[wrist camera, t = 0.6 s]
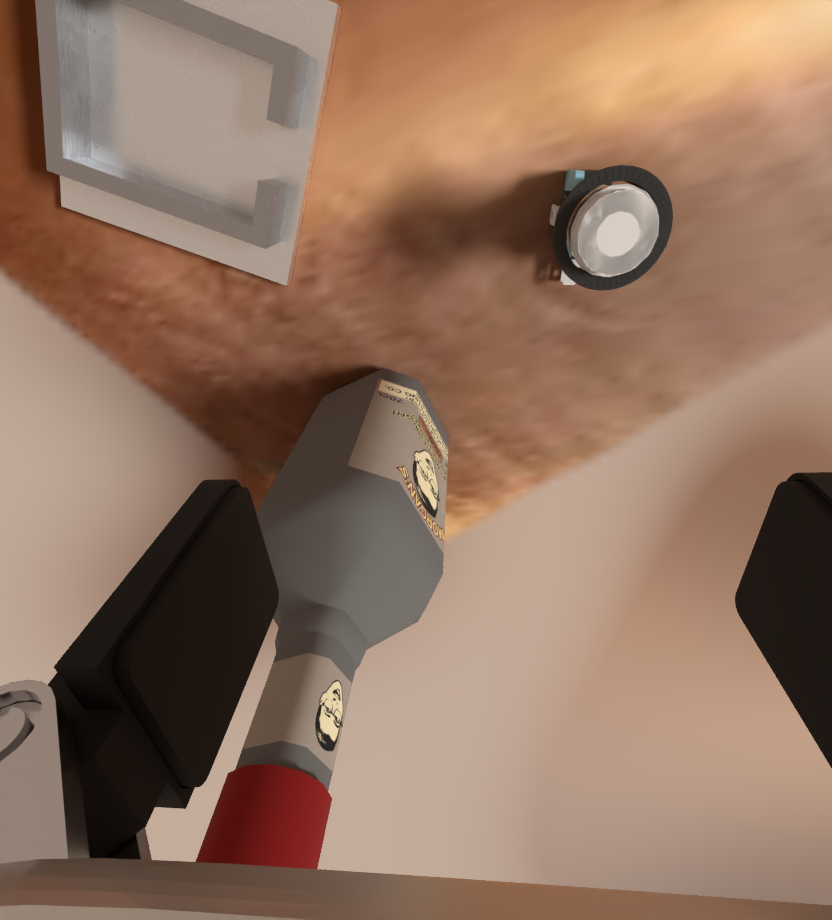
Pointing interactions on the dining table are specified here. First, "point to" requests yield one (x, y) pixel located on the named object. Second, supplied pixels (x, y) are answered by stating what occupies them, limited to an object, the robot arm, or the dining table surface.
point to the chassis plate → (189, 118)
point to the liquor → (333, 602)
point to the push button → (610, 226)
